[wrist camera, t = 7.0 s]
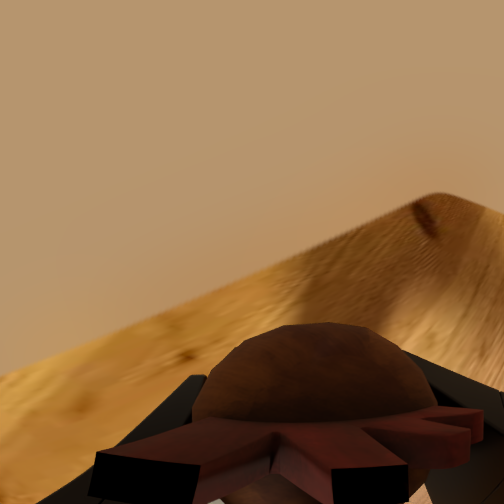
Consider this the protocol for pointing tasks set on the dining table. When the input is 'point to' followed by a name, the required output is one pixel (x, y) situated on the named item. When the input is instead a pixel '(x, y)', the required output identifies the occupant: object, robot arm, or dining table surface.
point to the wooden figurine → (298, 428)
